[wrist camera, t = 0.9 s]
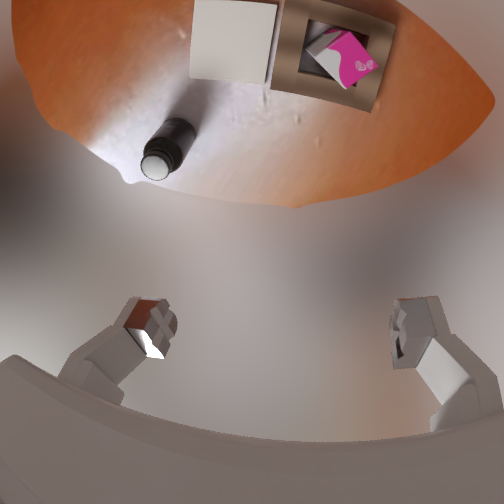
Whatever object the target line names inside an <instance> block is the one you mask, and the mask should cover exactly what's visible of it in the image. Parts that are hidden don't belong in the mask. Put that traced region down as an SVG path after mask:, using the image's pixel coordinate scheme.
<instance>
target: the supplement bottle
mask: <svg viewBox="0 0 504 504" xmlns="http://www.w3.org/2000/svg"><path fill="white" fill-rule="evenodd" d="M194 140H195V131H194V128H193V127H192V125H191V124H190V123H189V122H187V121H186V120H184V119H180V118H173V119H169V120H167V121H166V122H165V123H164V124H163V125H162V126H161V127H160V128H159V129H158V130H157V131H156V133H155V134H154V135H153V136H152V137H151V138H150V140H149V141H148V142H147V143H146V145H145V147H144V151H143V156H144V157H143V159H142V161H141V164H140V165H141V170H142V172H143V173H144V175H146V177H148V178H150V179H152V180H156V181H157V180H163V179H165V178H166V177H167V176H168V175H169V173H172V172H174V171H176V170H177V169H178V168H179V167H180V166H181V164H182V163H183V161H184V159H185V157H186V155H187V154H188V152H189V150H190V148H191V147H192V145H193V143H194Z"/></svg>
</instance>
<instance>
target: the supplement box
mask: <svg viewBox="0 0 504 504" xmlns="http://www.w3.org/2000/svg"><path fill="white" fill-rule="evenodd" d="M305 50H306V51H307V52H308V53H309V54H310V55H311V56H312V57H313V58H314V59H315V60H316V61H317V62H318V63H319V64H320V65H321V66H322V67H323V68H324V69H325V70H326V71H327V72H328V73H329V74H330V75H331V76H332V77H333V78H334V79H335V80H336V81H337V82H338V83H339V84H340V85H341V86H342V87H343V88H344V89H347V88H348V87H350V86H351V85H353V84H354V83H355V82H357V81H358V80H360V79H361V78H362V77H364V76H365V75H367V74H368V73H369V72H371V71H372V70H374V69H375V68H377V67H378V65H377V64H376V62H375V61H374V60H373V58H372V57H371V56H370V55H369V53H368V52H367V51H366V49H365V48H364V47H363V46H362V45H361V43H360V42H359V41H358V40H357V39H356V37H355V36H354V35H353V34H352V33H351V32H349V31H343V30H337V29H329V30H327V31H326V32H324V33H323V34H322V35H320V36H319V37H317V38H316V39H315V40H314V41H312V42H311V43H310V44H308V45H307V46H306V47H305Z"/></svg>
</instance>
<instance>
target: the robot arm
mask: <svg viewBox="0 0 504 504" xmlns="http://www.w3.org/2000/svg"><path fill="white" fill-rule="evenodd" d="M169 306H170V305H169V303H168V302H167V300H166V299H161V298H150V297H138V296H133V297H131V298H130V299H129V300H128V302H127V303H126V305H125V307H124V308H123V310H122V311H121V313H120V315H119V316H118V318H117V320H116V321H115V323H114V325H113V326H109V327H107V328H106V329H105V330H103V331H102V332H100V333H99V334H97V335H96V336H94V337H93V338H92V339H90V340H89V341H88V342H86V343H85V344H83V345H82V346H81V347H79V348H78V349H76V350H75V351H74V352H72V353H71V354H70V356H69V357H68V359H67V361H66V363H65V365H64V366H63V368H62V370H61V371H60V373H59V375H58V377H55V376H53V375H52V374H49V373H48V372H46V371H44V370H42V369H40V368H39V367H37V366H35V365H34V364H32V363H30V362H28V361H27V360H25V359H24V358H22V357H21V356H18V355H12V356H10V357H8V358H6V359H5V360H3V361H2V362H1V363H0V504H504V409H503V403H502V398H501V393H500V389H499V384H498V380H497V376H496V375H495V374H494V373H493V372H492V371H491V370H490V368H489V367H488V366H487V365H486V364H485V363H484V362H483V361H482V360H481V359H480V358H479V357H478V356H477V355H476V354H475V353H474V352H473V351H472V350H471V349H470V348H469V347H468V346H467V345H465V343H463V342H462V341H461V340H460V339H459V338H458V337H457V336H456V335H455V334H451V333H450V330H449V327H448V323H447V320H446V317H445V314H444V311H443V308H442V305H441V302H440V299H439V297H437V296H427V297H413V298H400V299H396V300H395V303H394V306H393V307H394V313H393V314H392V315H391V318H390V322H389V339H390V342H391V343H392V344H393V345H394V347H393V350H392V353H391V354H392V362H393V369H405V368H416V370H417V371H418V372H419V374H420V375H421V377H422V378H423V379H424V381H425V382H426V383H427V385H428V386H429V388H430V389H431V391H432V392H433V393H434V395H435V396H436V398H437V399H438V401H439V402H440V403H441V405H442V406H441V407H440V408H439V409H438V410H437V411H436V412H435V413H434V414H433V415H432V416H431V417H430V429H431V432H429V433H424V434H418V435H413V436H406V437H399V438H391V439H381V440H370V441H354V442H299V441H283V440H270V439H260V438H253V437H245V436H238V435H232V434H226V433H220V432H215V431H209V430H205V429H200V428H196V427H191V426H187V425H183V424H179V423H175V422H171V421H168V420H164V419H160V418H157V417H154V416H150V415H147V414H144V413H141V412H138V411H135V410H132V409H129V408H126V407H124V406H121V405H120V404H121V402H122V400H123V397H124V392H123V391H122V390H121V389H120V388H119V387H118V386H117V385H118V384H119V383H120V382H121V381H122V380H123V379H124V378H125V377H127V376H128V374H130V372H132V371H133V370H134V369H135V368H136V367H137V366H138V365H139V364H140V363H141V362H142V361H143V360H145V359H146V358H147V356H151V357H157V358H165V356H166V354H167V352H168V349H169V347H170V342H169V340H170V339H171V338H172V337H174V335H175V333H176V330H177V318H176V316H175V314H174V313H173V312H172V311H171V310H169Z"/></svg>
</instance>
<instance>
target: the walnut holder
mask: <svg viewBox="0 0 504 504" xmlns="http://www.w3.org/2000/svg"><path fill="white" fill-rule="evenodd" d="M308 19H309V20H313V21H318V22H322V23H326V24H330V25H333V26H337V27H341V28H344V29H347V30H351V31H354V32H357V33H360V34H363V35H364V37H363V41H362V46H363V47H364V48H365V49H366V51H367V52H368V53H369V55H370V56H371V57H372V58H373V60H374V61H375V62H376V64H377V65H378V67H377V68H375V69H374V70H372V71H371V72H369V73H368V74H367V75H365V76H364V77H362V78H361V79H360V80H358V81H357V82H355V83H354V84H353V85H351V86H350V87H348V88H347V89H344V88H343V87H342V86H341V85H340V84H339V83H338V82H337V81H336V80H335V79H334V78H332V77H328V76H324V75H320V74H316V73H311V72H307V71H302V70H298V68H299V63H300V58H301V53H302V48H303V43H304V38H305V33H306V28H307V23H308ZM395 28H396V25H394V24H392V23H389V22H387V21H384V20H382V19H379V18H377V17H374V16H371V15H369V14H366V13H363V12H360V11H357V10H354V9H351V8H347V7H344V6H341V5H337V4H334V3H330V2H326V1H322V0H285V4H284V10H283V16H282V21H281V27H280V33H279V39H278V45H277V51H276V56H275V62H274V68H273V74H272V80H271V86H270V89H272V90H278V91H284V92H289V93H295V94H300V95H304V96H309V97H314V98H318V99H322V100H326V101H330V102H334V103H338V104H342V105H345V106H349V107H353V108H356V109H359V110H363V111H366V112H369V113H371V111H372V108H373V105H374V102H375V98H376V95H377V92H378V89H379V86H380V82H381V79H382V76H383V72H384V69H385V65H386V62H387V58H388V55H389V51H390V48H391V44H392V40H393V36H394V32H395Z"/></svg>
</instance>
